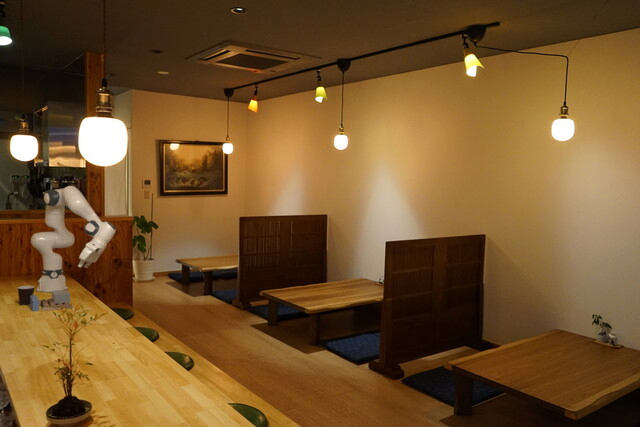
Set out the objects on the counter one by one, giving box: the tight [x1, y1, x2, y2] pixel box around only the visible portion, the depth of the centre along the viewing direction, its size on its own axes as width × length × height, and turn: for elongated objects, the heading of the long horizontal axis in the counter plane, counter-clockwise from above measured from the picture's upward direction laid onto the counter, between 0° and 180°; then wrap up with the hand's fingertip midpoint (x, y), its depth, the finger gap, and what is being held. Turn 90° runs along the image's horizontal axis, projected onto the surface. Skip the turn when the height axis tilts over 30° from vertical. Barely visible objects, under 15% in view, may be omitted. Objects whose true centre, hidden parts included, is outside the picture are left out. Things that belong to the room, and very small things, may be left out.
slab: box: [50, 289, 71, 304], centre depth 295 cm, size 12×8×5 cm, turn 36°
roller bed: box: [39, 298, 73, 312], centre depth 294 cm, size 18×15×3 cm
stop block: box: [29, 294, 40, 312], centre depth 287 cm, size 14×3×6 cm, turn 36°
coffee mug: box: [17, 285, 35, 306], centre depth 297 cm, size 12×9×10 cm
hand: (82, 267), depth 295 cm, fingers open, 8 cm apart
